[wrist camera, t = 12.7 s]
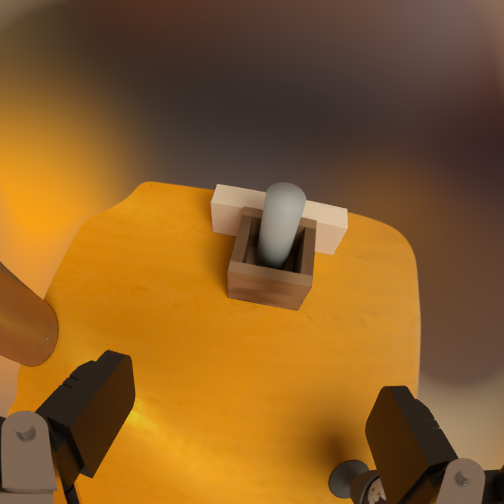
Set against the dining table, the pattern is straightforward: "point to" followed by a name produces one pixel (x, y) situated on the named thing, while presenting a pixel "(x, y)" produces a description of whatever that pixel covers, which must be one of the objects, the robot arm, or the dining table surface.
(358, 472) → the sundae
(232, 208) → the rail
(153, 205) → the dining table surface
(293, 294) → the open wooden box
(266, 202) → the gray cylinder
